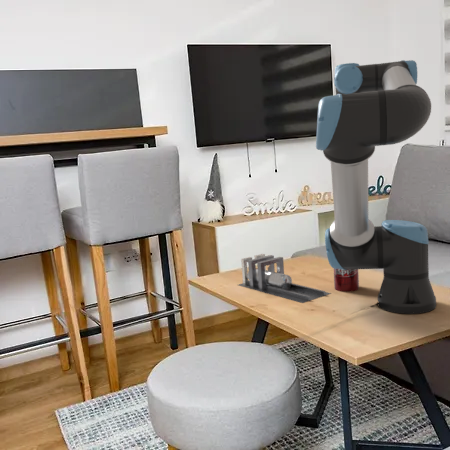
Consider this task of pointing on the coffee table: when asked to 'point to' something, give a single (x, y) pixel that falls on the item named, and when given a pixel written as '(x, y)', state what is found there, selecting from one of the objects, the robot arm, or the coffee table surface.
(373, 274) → the coffee table surface
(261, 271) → the gray roller rack tray
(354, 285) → the soda can
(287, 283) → the tube
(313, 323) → the coffee table surface
